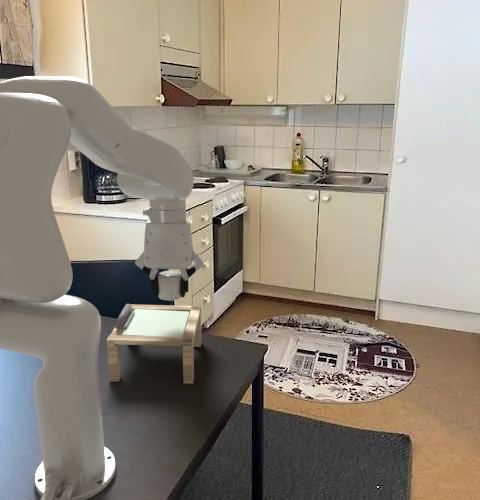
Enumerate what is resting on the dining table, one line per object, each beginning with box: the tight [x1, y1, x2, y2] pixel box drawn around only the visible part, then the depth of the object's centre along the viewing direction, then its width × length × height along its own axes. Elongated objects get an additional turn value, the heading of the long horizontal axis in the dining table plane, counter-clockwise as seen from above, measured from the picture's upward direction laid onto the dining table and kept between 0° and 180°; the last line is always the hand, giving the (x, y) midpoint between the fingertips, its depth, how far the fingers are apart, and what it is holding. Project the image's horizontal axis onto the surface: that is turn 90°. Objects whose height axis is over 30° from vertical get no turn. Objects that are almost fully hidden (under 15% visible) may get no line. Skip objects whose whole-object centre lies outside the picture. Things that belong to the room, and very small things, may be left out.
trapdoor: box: [114, 303, 190, 337], centre depth 113 cm, size 13×15×3 cm
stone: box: [158, 270, 182, 302], centre depth 110 cm, size 5×5×5 cm
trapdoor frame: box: [106, 303, 202, 385], centre depth 114 cm, size 18×18×10 cm
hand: (170, 293), depth 110 cm, fingers closed on stone, 5 cm apart
